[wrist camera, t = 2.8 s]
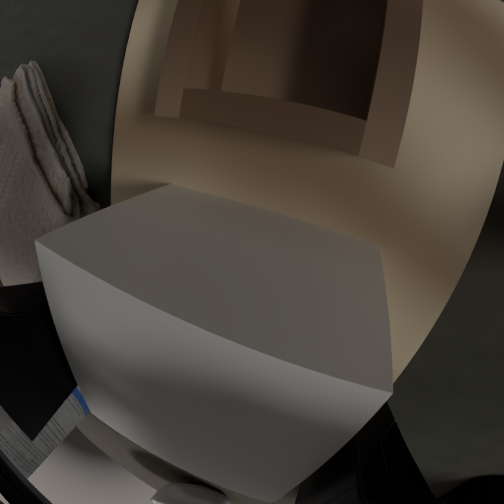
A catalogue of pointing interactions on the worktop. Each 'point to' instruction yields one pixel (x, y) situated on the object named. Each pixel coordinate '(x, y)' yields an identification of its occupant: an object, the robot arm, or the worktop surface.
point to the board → (327, 125)
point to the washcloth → (34, 174)
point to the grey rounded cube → (221, 333)
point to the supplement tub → (42, 435)
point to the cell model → (188, 495)
